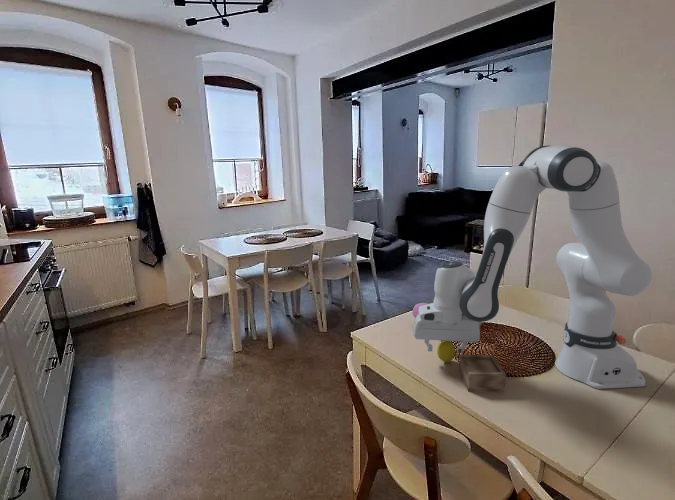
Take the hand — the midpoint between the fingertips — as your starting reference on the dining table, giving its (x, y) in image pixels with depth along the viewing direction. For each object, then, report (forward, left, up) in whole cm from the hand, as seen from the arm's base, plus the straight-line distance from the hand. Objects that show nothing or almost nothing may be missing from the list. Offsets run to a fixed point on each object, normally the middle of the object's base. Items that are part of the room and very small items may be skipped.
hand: (444, 351), depth 115 cm
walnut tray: (-9, +9, -5) cm, 13 cm away
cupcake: (+5, -24, -4) cm, 25 cm away
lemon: (-1, 0, -4) cm, 4 cm away
